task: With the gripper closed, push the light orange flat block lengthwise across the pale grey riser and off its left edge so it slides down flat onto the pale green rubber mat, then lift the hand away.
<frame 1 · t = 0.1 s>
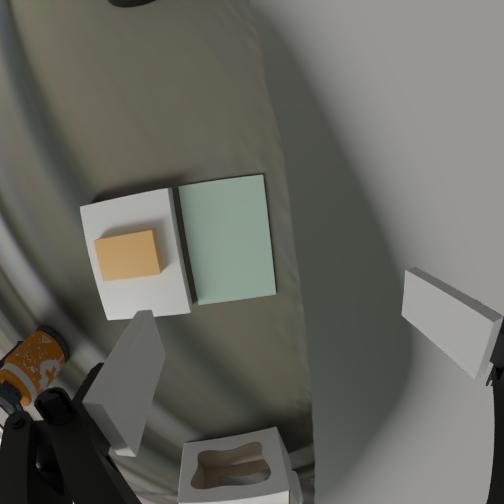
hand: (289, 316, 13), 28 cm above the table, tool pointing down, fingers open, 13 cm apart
mat: (228, 241, 40), on the table
light orange flat block: (130, 253, 37), point 3 cm above the table, touching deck
canister: (49, 342, 42), on the table
gable box: (237, 450, 53), on the table
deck: (138, 255, 40), on the table
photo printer: (279, 476, 57), on the table
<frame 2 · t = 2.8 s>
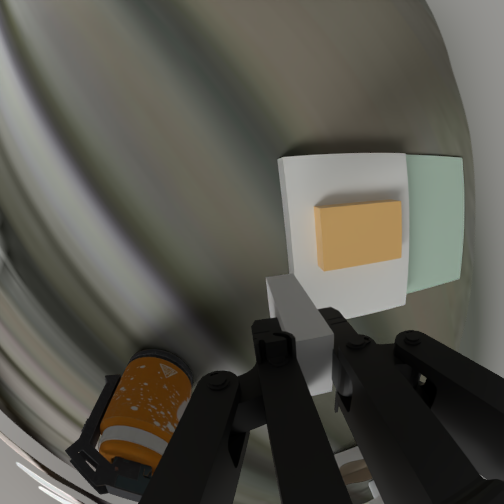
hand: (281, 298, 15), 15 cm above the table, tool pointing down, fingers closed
mat: (435, 223, 31), on the table
light orange flat block: (356, 231, 27), point 3 cm above the table, touching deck
canister: (153, 370, 33), on the table
gable box: (365, 454, 44), on the table
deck: (345, 235, 30), on the table
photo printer: (384, 474, 49), on the table
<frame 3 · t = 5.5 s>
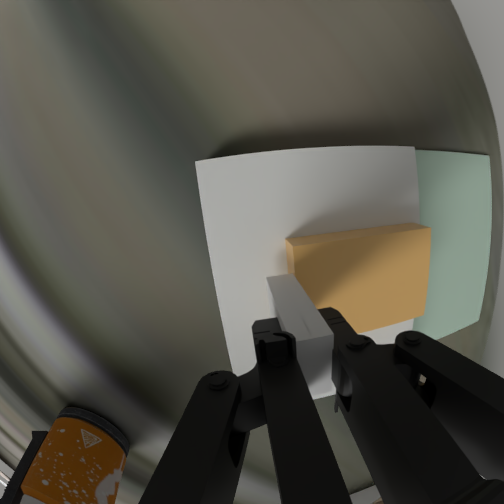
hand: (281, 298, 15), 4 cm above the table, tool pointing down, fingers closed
mat: (453, 251, 20), on the table
light orange flat block: (357, 275, 17), point 3 cm above the table
canister: (87, 426, 23), on the table
gable box: (351, 502, 33), on the table
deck: (317, 279, 20), on the table
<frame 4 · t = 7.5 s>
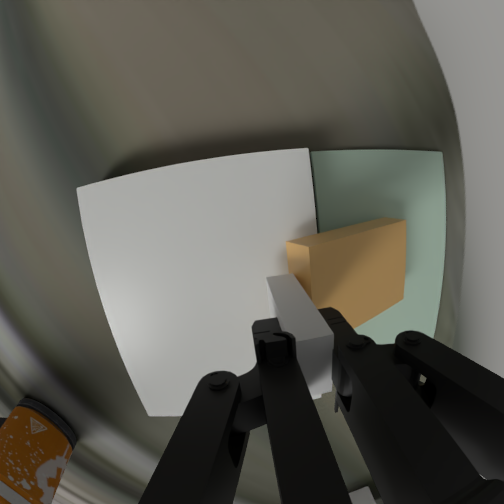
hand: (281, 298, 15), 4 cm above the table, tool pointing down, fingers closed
mat: (390, 265, 20), on the table
light orange flat block: (345, 271, 18), point 2 cm above the table, tilted 23°, touching gripper, mat
canister: (43, 416, 22), on the table
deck: (211, 295, 20), on the table
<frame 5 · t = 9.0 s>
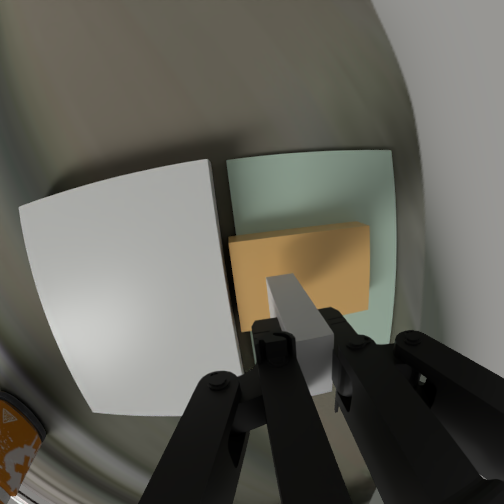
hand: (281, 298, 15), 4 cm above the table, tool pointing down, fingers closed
mat: (325, 277, 20), on the table
light orange flat block: (299, 270, 19), resting on mat
canister: (17, 409, 22), on the table
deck: (138, 303, 19), on the table
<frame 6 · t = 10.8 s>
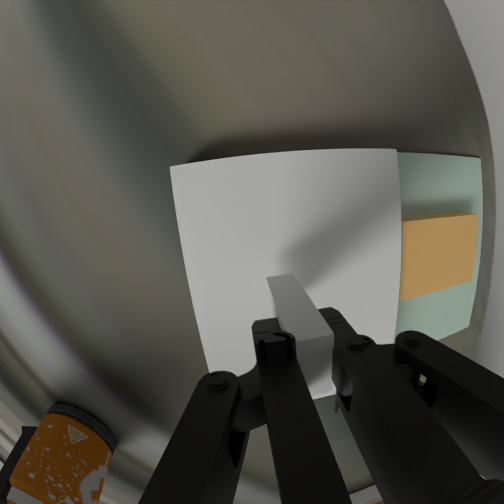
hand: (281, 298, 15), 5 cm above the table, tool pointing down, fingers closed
mat: (441, 256, 21), on the table
light orange flat block: (429, 249, 20), resting on mat
canister: (75, 423, 23), on the table
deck: (296, 283, 20), on the table
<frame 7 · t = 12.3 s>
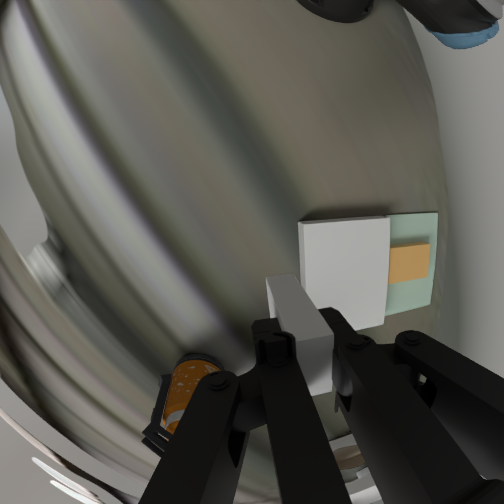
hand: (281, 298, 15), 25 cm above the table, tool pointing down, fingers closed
mat: (411, 264, 44), on the table
light orange flat block: (404, 260, 43), resting on mat
canister: (193, 370, 45), on the table
gable box: (353, 444, 55), on the table
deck: (342, 274, 43), on the table
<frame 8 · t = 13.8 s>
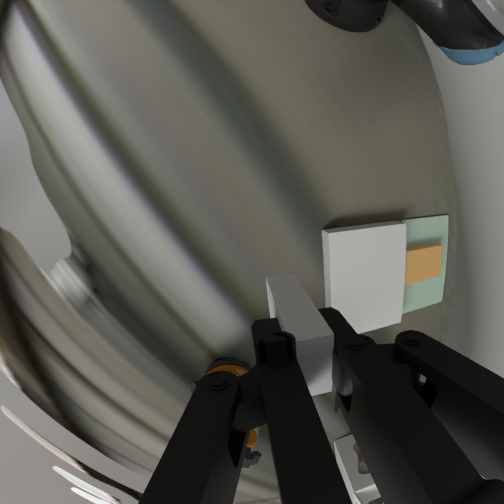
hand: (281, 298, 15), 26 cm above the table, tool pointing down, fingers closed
mat: (424, 264, 45), on the table
light orange flat block: (418, 261, 44), resting on mat
canister: (223, 374, 47), on the table
gable box: (372, 436, 57), on the table
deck: (362, 277, 44), on the table
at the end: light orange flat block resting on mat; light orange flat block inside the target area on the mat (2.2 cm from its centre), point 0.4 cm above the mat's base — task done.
